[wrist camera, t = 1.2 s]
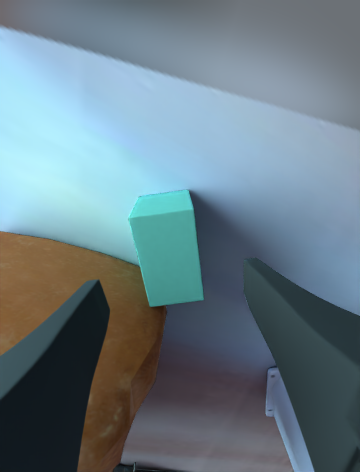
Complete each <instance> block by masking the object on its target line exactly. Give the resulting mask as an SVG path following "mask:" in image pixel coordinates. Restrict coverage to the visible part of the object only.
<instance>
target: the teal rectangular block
mask: <svg viewBox="0 0 360 472" xmlns="http://www.w3.org/2000/svg"><path fill="white" fill-rule="evenodd" d="M128 219H129V223H130V227H131V231H132V235H133V239H134V243H135V247H136V252H137V256H138V260H139V264H140V268H141V272H142V276H143V280H144V285H145V289H146V293H147V297H148V301H149V305H150V307H154V306H162V305H170V304H178V303H185V302H193V301H201V300H204V293H203V284H202V275H201V266H200V257H199V248H198V239H197V230H196V221H195V212H194V207H193V204H192V200H191V197H190V193H189V190H182V191H174V192H167V193H160V194H153V195H146V196H139V198H138V200H137V202H136V204H135V206H134V208H133V210H132V212H131V214H130V216H129V218H128Z"/></svg>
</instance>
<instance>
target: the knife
mask: <svg viewBox="0 0 360 472" xmlns="http://www.w3.org/2000/svg"><path fill="white" fill-rule="evenodd" d="M135 467H136V462H135V463H134V467H128V466H123V465H117V466H116V467H115V468H114V469H113V472H165V471H152V470H138V469H135Z"/></svg>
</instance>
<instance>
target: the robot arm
mask: <svg viewBox="0 0 360 472" xmlns="http://www.w3.org/2000/svg"><path fill="white" fill-rule="evenodd" d="M244 294H245V297H246V300H247V303H248V306H249V309H250V311H251V313H252V315H253V317H254V319H255V321H256V323H257V325H258V327H259V329H260V331H261V333H262V335H263V337H264V339H265V341H266V343H267V345H268V347H269V349H270V351H271V353H272V355H273V358H274V360H275V362H276V365H277V367H276V368H270V369H269V370H268V373H267V392H266V410H265V413H266V416H268V417H271V416H274V417H275V420H276V422H277V425H278V428H279V431H280V434H281V436H282V439H283V442H284V445H285V447H286V450H287V453H288V456H289V459H290V461H291V464H292V467H293V469H294V472H360V316H359V315H356V314H354V313H351V312H349V311H347V310H344V309H342V308H340V307H338V306H335V305H333V304H331V303H329V302H327V301H325V300H323V299H321V298H319V297H317V296H315V295H313V294H312V293H310V292H308V291H306V290H305V289H303V288H301V287H299V286H298V285H296V284H295V283H293V282H291V281H290V280H288V279H287V278H285V277H284V276H282V275H281V274H279V273H278V272H276V271H275V270H273V269H272V268H270V267H269V266H267V265H266V264H265V263H263V262H262V261H260V260H259V259H257V258H251V259H244ZM109 315H110V308H109V305H108V302H107V299H106V296H105V293H104V291H103V288H102V285H101V282H100V279H96V280H89V281H86V282H85V283H84V284H83V285H82V286H81V287H80V288H79V289H78V290H77V291H76V292H75V293H74V294H73V295H72V296H71V297H70V298H68V299H67V300H66V301H65V302H64V303H63V304H62V305H61V306H60V307H59V308H58V309H57V310H56V311H55V312H54V313H53V314H52V315H50V316H49V317H48V318H47V319H46V320H45V321H44V322H43V323H42V324H40V325H39V326H38V327H37V328H36V329H35V330H33V331H32V332H31V333H30V334H29V335H27V336H26V337H25V338H24V339H22V340H21V341H20V342H18V343H17V344H16V345H15V346H13V347H12V348H11V349H9V350H8V351H6V352H5V353H4V354H2V355H1V356H0V472H77V469H78V462H79V455H80V448H81V441H82V435H83V429H84V423H85V417H86V411H87V406H88V400H89V395H90V390H91V385H92V381H93V377H94V373H95V370H96V367H97V363H98V360H99V356H100V353H101V350H102V346H103V343H104V339H105V336H106V332H107V328H108V322H109Z"/></svg>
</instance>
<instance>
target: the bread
mask: <svg viewBox="0 0 360 472" xmlns="http://www.w3.org/2000/svg"><path fill="white" fill-rule="evenodd" d="M96 279H100V282H101V285H102V288H103V291H104V293H105V296H106V299H107V302H108V305H109V308H110V315H109V322H108V328H107V332H106V336H105V339H104V343H103V346H102V350H101V353H100V356H99V360H98V363H97V367H96V370H95V373H94V377H93V381H92V385H91V390H90V395H89V400H88V406H87V411H86V417H85V423H84V429H83V435H82V441H81V448H80V455H79V462H78V469H77V472H113V469H114V468H115V467H116V466H117V465H118V464H119V463H120V460H121V456H122V452H123V447H124V443H125V440H126V438H127V435H128V433H129V430H130V428H131V425H132V423H133V420H134V418H135V415H136V413H137V411H138V409H139V408H140V406H141V404H142V403H143V401H144V399H145V398H146V396H147V394H148V393H149V391H150V389H151V388H152V386H153V384H154V383H155V380H156V374H157V368H158V362H159V356H160V350H161V344H162V338H163V332H164V326H165V320H166V314H167V309H166V305H162V306H154V307H150V305H149V301H148V297H147V293H146V289H145V285H144V280H143V276H142V272H141V268H140V267H139V266H137V265H134V264H131V263H128V262H126V261H123V260H120V259H117V258H114V257H112V256H109V255H106V254H103V253H100V252H96V251H92V250H89V249H85V248H81V247H77V246H74V245H70V244H66V243H62V242H59V241H55V240H51V239H45V238H39V237H33V236H26V235H20V234H14V233H7V232H1V231H0V356H1V355H2V354H4V353H5V352H6V351H8V350H9V349H11V348H12V347H13V346H15V345H16V344H17V343H18V342H20V341H21V340H22V339H24V338H25V337H26V336H27V335H29V334H30V333H31V332H32V331H33V330H35V329H36V328H37V327H38V326H39V325H40V324H42V323H43V322H44V321H45V320H46V319H47V318H48V317H49V316H50V315H52V314H53V313H54V312H55V311H56V310H57V309H58V308H59V307H60V306H61V305H62V304H63V303H64V302H65V301H66V300H67V299H68V298H70V297H71V296H72V295H73V294H74V293H75V292H76V291H77V290H78V289H79V288H80V287H81V286H82V285H83V284H84V283H85V282H86V281H89V280H96Z"/></svg>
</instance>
